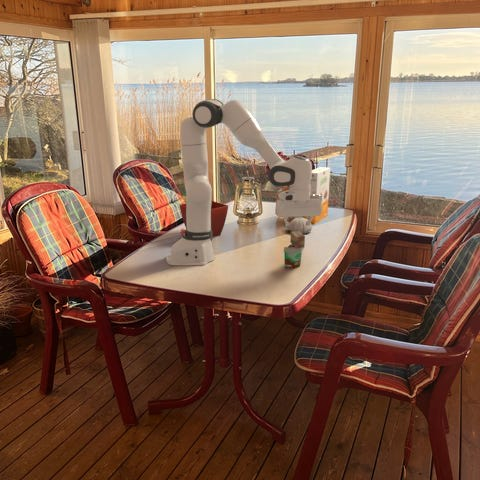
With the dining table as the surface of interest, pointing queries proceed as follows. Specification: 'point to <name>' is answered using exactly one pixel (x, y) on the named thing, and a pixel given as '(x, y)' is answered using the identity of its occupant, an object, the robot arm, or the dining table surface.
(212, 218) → the plant pot
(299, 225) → the sea urchin shell
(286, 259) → the food container
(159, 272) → the dining table surface
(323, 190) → the cereal box
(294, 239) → the walnut block
